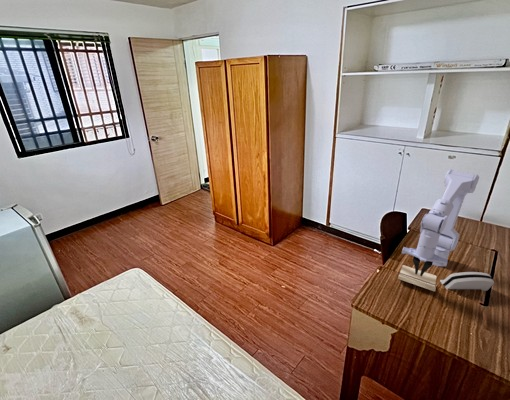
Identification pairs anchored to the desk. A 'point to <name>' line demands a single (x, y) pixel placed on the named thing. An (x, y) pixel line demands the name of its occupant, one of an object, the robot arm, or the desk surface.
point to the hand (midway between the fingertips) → (418, 273)
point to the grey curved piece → (468, 281)
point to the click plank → (417, 282)
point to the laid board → (418, 275)
